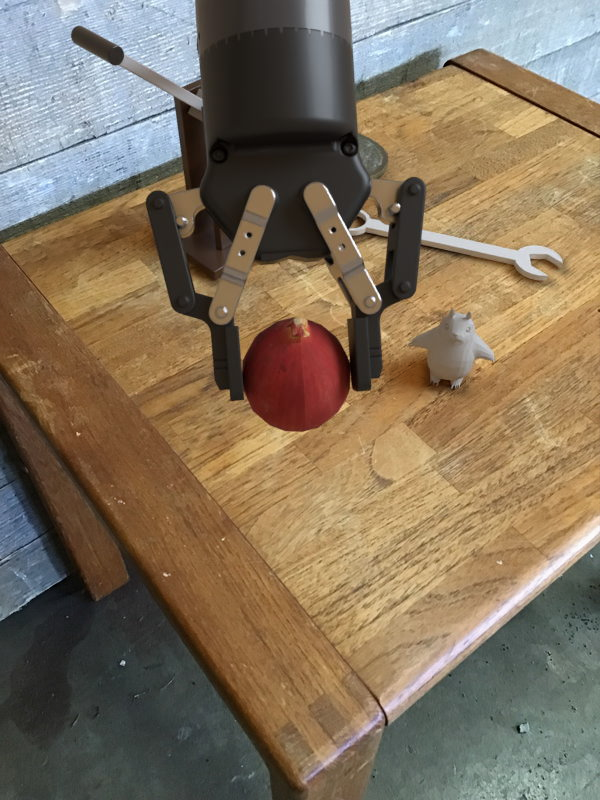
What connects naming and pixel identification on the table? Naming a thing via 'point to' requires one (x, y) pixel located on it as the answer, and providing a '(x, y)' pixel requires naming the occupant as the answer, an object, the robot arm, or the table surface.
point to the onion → (296, 375)
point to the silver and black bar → (134, 67)
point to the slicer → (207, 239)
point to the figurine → (452, 348)
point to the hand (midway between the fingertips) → (300, 393)
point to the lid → (373, 156)
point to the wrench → (473, 248)
